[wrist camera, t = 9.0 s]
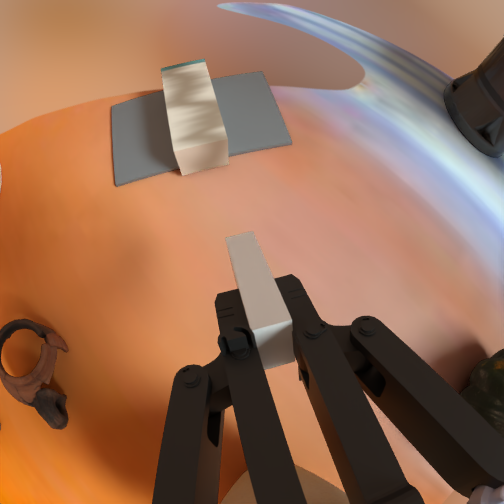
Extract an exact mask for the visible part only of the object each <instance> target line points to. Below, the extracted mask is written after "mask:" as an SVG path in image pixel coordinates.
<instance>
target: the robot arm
mask: <svg viewBox="0 0 504 504" xmlns="http://www.w3.org/2000/svg"><path fill="white" fill-rule="evenodd" d="M444 100H445V104H446V107H447V109H448V111H449V113H450V115H451V117H452V119H453V121H454V122H455V124H456V125H457V127H458V128H459V130H460V131H461V132H462V133H463V135H464V136H465V137H466V138H467V139H468V140H469V141H470V142H471V143H472V144H473V145H474V146H475V147H476V148H477V149H479V150H480V151H481V152H483V153H484V154H486V155H488V156H491V157H500V156H501V155H503V154H504V38H503V39H502V40H501V41H500V42H499V43H498V44H497V46H496V47H495V48H494V49H493V50H492V51H491V53H490V54H489V55H488V56H487V57H486V58H485V59H484V60H483V62H482V63H481V64H480V65H479V66H478V68H477V69H475V70H473V71H471V72H469V73H467V74H465V75H463V76H460V77H458V78H456V79H454V80H453V81H452V82H451V83H450V84H449V85H448V86H447V87H446V89H445V91H444ZM225 239H226V243H227V248H228V252H229V256H230V260H231V264H232V269H233V273H234V277H235V281H236V284H237V288H238V289H235V290H231V291H227V292H223V293H219V294H217V297H216V300H215V308H216V314H217V319H218V325H219V330H220V335H219V337H218V345H219V348H220V350H221V353H220V354H219V356H218V357H217V358H216V359H215V360H214V361H212V362H211V363H209V364H207V365H205V366H203V367H201V366H200V365H194V364H193V365H187V366H185V367H183V368H181V369H180V370H179V371H178V372H177V373H176V376H175V378H174V382H173V386H172V391H171V396H170V401H169V406H168V412H167V417H166V422H165V427H164V433H163V438H162V444H161V450H160V456H159V462H158V468H157V474H156V480H155V487H154V494H153V501H152V504H218V490H219V476H220V463H221V450H222V437H223V425H224V412H225V409H226V408H228V407H230V406H231V405H233V408H234V413H235V417H236V421H237V426H238V430H239V435H240V439H241V443H242V447H243V452H244V456H245V460H246V464H247V468H248V472H249V476H250V480H251V484H252V487H253V491H254V495H255V499H256V502H257V504H307V501H306V498H305V495H304V493H303V490H302V487H301V484H300V481H299V478H298V475H297V472H296V469H295V466H294V463H293V460H292V456H291V453H290V450H289V447H288V444H287V441H286V438H285V435H284V432H283V429H282V426H281V422H280V419H279V416H278V413H277V410H276V407H275V403H274V400H273V397H272V394H271V391H270V387H269V384H268V381H267V378H266V374H265V371H264V370H266V369H270V368H273V367H277V366H281V365H284V364H288V363H291V362H294V361H295V358H296V360H297V363H298V370H299V381H301V380H302V381H303V384H304V386H305V389H306V391H307V394H308V397H309V399H310V402H311V404H312V407H313V410H314V412H315V415H316V417H317V420H318V422H319V425H320V428H321V430H322V433H323V435H324V438H325V441H326V443H327V446H328V448H329V451H330V453H331V456H332V459H333V461H334V464H335V466H336V469H337V472H338V474H339V477H340V479H341V482H342V484H343V487H344V490H345V492H346V495H347V497H348V500H349V503H350V504H425V503H424V501H423V498H422V496H421V495H420V493H419V491H418V490H417V489H416V488H415V487H413V486H412V485H410V484H409V483H408V482H407V480H406V478H405V476H404V474H403V472H402V469H401V467H400V465H399V463H398V461H397V459H396V457H395V455H394V453H393V450H392V448H391V446H390V444H389V442H388V440H387V438H386V436H385V434H384V432H383V430H382V428H381V426H380V424H379V422H378V420H377V418H376V416H375V414H374V412H373V410H372V408H371V406H370V404H369V402H368V400H367V398H366V396H365V394H364V392H365V393H366V394H367V395H368V396H369V397H370V398H371V400H372V401H373V402H374V403H375V404H376V405H377V406H378V407H379V408H380V410H381V411H382V412H383V413H384V414H385V415H386V416H387V417H388V418H389V420H390V421H391V422H392V423H393V424H394V425H395V426H396V427H397V428H398V430H399V431H400V432H401V433H402V434H403V435H404V436H405V437H406V438H407V440H408V441H409V442H410V443H411V444H412V445H413V446H414V447H415V448H416V449H417V451H418V452H419V453H420V454H421V455H422V456H423V457H424V458H425V459H426V460H427V462H428V463H429V464H430V465H431V466H432V467H433V468H434V469H435V470H436V471H437V473H438V474H439V475H440V476H441V477H442V478H443V479H444V480H445V481H446V482H447V483H448V484H449V485H450V486H451V487H452V488H453V489H454V490H456V491H457V492H458V493H460V494H461V495H463V496H465V497H467V498H469V501H468V502H467V504H504V439H503V438H502V436H501V435H500V434H499V433H498V432H497V431H496V430H495V429H494V428H493V427H492V426H491V425H490V424H489V423H488V422H487V421H486V420H485V419H484V418H483V417H482V416H481V415H480V414H479V413H478V412H477V411H476V410H475V409H474V408H473V407H472V406H471V405H470V404H469V403H467V402H466V401H465V400H464V399H463V398H462V397H461V396H460V395H459V394H458V393H457V392H456V391H455V390H454V389H453V388H452V387H451V386H450V385H449V384H448V383H447V382H446V381H445V380H444V379H443V378H442V377H440V376H439V375H438V374H437V373H436V372H435V371H434V370H433V369H432V368H431V367H430V366H429V365H428V364H427V363H426V362H425V361H423V360H422V359H421V358H420V357H419V356H418V355H417V354H416V353H415V352H414V351H413V350H412V349H411V348H409V347H408V346H407V345H406V344H405V343H404V342H403V341H402V340H401V339H400V338H399V337H397V336H396V335H395V334H394V333H393V332H392V331H391V330H390V329H389V328H387V327H386V326H385V325H384V324H383V323H382V322H381V321H380V320H378V319H377V318H375V317H372V316H361V317H359V318H356V319H355V320H354V321H353V322H352V325H349V326H333V325H329V324H327V323H326V322H325V321H323V320H321V318H320V317H319V315H318V313H317V311H316V310H315V308H314V306H313V304H312V302H311V300H310V298H309V296H308V295H307V293H306V291H305V289H304V287H303V285H302V283H301V282H300V280H299V279H298V278H296V277H295V276H294V275H292V274H290V275H287V276H283V277H279V278H275V279H274V278H273V275H272V273H271V271H270V269H269V266H268V264H267V262H266V259H265V257H264V255H263V253H262V250H261V248H260V246H259V244H258V241H257V239H256V237H255V235H254V232H253V231H251V232H247V233H242V234H238V235H234V236H230V237H226V238H225ZM362 389H363V390H362ZM363 391H364V392H363Z"/></svg>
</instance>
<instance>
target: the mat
mask: <svg viewBox="0 0 504 504" xmlns="http://www.w3.org/2000/svg"><path fill="white" fill-rule="evenodd" d="M211 83H212V86H213V90H214V93H215V96H216V100H217V103H218V107H219V110H220V114H221V117H222V120H223V124H224V127H225V131H226V134H227V138H228V157H230V156H235V155H239V154H244V153H249V152H254V151H259V150H264V149H269V148H275V147H280V146H286V145H292V140H291V138H290V135H289V133H288V130H287V128H286V125H285V123H284V120H283V118H282V116H281V113H280V111H279V108H278V106H277V104H276V101H275V99H274V97H273V94H272V92H271V90H270V87H269V85H268V83H267V81H266V79H265V76H264V74H263V72H262V71H260V72H253V73H245V74H239V75H233V76H226V77H221V78H215V79H211ZM112 142H113V160H114V174H115V185H116V186H117V187H118V186H121V185H125V184H128V183H131V182H134V181H138V180H141V179H144V178H148V177H151V176H155V175H158V174H162V173H165V172H169V171H173V170H176V169H180V168H179V165H178V162H177V159H176V157H175V154H174V150H173V145H172V139H171V133H170V127H169V121H168V115H167V109H166V102H165V96H164V90H163V91H159V92H155V93H152V94H148V95H145V96H142V97H138V98H135V99H132V100H129V101H126V102H123V103H120V104H117V105H114V106H112Z"/></svg>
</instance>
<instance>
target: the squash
mask: <svg viewBox="0 0 504 504" xmlns="http://www.w3.org/2000/svg"><path fill="white" fill-rule="evenodd" d="M460 396H461V397H462V398H463V399H464V400H465V401H466V402H467V403H469V404H470V405H471V406H472V407H473V408H474V409H475V410H476V411H477V412H478V413H479V414H480V415H481V416H482V417H483V418H484V419H485V420H486V421H487V422H488V423H489V424H490V425H491V426H492V427H493V428H494V429H495V430H496V431H497V432H498V433H499V434H500V435H501V436H502V438H503V439H504V349H502V350H500V351H498V352H497V353H495V354H494V355H493V356H492V357H491V358H489V359H485V360H482V361H481V362H479V363H478V364H477V365H476V367H475V368H474V370H473V371H472V373H471V376H470V386H468V387H467V388H465V389H464V390H463V391H462V392H461V394H460Z"/></svg>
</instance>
